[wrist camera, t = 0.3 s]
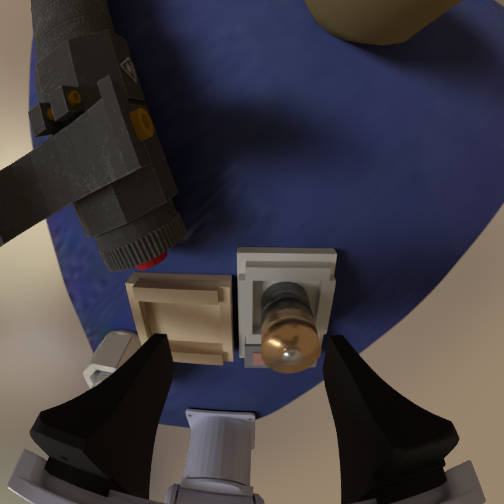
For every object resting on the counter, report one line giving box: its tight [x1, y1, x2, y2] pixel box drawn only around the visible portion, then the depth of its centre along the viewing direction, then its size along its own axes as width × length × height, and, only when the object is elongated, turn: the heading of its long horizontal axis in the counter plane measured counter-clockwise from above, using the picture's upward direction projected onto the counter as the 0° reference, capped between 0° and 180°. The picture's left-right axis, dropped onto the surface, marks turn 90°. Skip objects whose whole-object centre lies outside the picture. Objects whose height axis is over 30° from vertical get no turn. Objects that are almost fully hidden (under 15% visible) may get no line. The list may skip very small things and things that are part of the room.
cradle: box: [237, 247, 337, 368], centre depth 22 cm, size 10×7×2 cm
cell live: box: [261, 281, 321, 373], centre depth 19 cm, size 4×4×6 cm
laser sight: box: [0, 0, 187, 272], centre depth 12 cm, size 10×22×10 cm, turn 18°
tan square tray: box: [125, 272, 234, 365], centre depth 22 cm, size 7×8×2 cm
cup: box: [83, 329, 141, 389], centre depth 23 cm, size 6×6×5 cm
